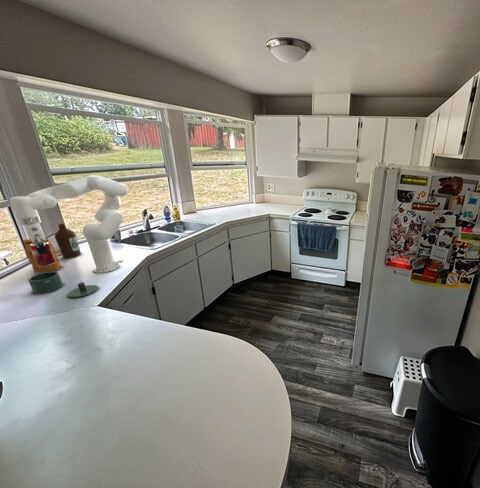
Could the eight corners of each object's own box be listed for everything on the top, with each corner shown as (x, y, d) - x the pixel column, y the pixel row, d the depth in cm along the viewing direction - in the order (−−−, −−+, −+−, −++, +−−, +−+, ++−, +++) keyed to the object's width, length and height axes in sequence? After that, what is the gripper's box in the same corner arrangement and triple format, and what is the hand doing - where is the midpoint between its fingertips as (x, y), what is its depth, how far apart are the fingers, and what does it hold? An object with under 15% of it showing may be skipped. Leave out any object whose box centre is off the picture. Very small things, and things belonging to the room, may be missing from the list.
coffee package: (57, 271, 161) (45, 239, 154) (31, 274, 157) (17, 242, 149) (65, 265, 170) (53, 235, 162) (40, 268, 165) (27, 237, 158)
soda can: (44, 267, 134) (35, 246, 130) (33, 265, 135) (24, 245, 131) (59, 262, 141) (52, 242, 137) (49, 260, 142) (42, 240, 138)
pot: (59, 280, 151) (54, 268, 149) (66, 289, 142) (61, 276, 139) (31, 288, 142) (25, 275, 140) (36, 298, 133) (30, 284, 130)
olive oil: (58, 259, 179) (45, 225, 170) (69, 253, 189) (57, 221, 180) (76, 258, 181) (64, 225, 173) (85, 252, 191) (75, 221, 182)
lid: (94, 284, 148) (92, 275, 146) (101, 291, 141) (99, 282, 139) (65, 293, 138) (62, 284, 136) (71, 301, 132) (68, 291, 130)
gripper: (43, 221, 128) (55, 253, 134) (36, 216, 137) (48, 246, 143) (21, 225, 122) (35, 258, 128) (16, 219, 131) (29, 250, 137)
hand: (42, 251), depth 135 cm, fingers closed on soda can, 7 cm apart
